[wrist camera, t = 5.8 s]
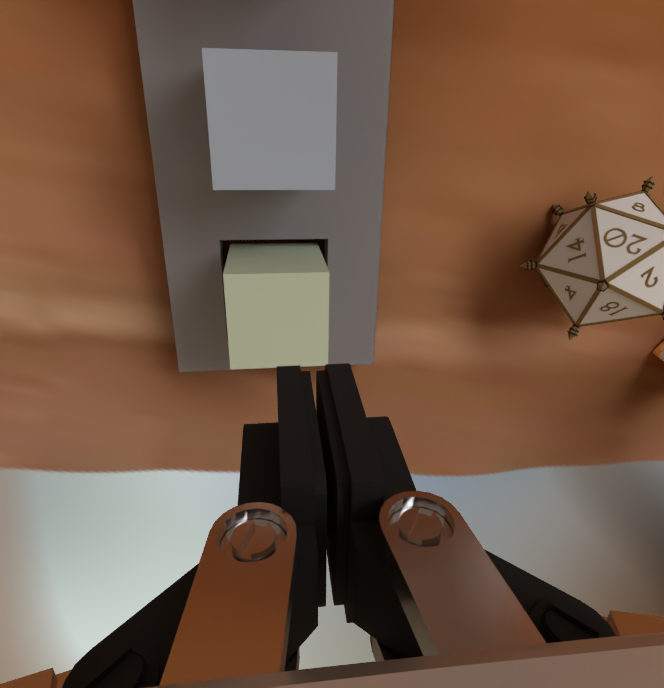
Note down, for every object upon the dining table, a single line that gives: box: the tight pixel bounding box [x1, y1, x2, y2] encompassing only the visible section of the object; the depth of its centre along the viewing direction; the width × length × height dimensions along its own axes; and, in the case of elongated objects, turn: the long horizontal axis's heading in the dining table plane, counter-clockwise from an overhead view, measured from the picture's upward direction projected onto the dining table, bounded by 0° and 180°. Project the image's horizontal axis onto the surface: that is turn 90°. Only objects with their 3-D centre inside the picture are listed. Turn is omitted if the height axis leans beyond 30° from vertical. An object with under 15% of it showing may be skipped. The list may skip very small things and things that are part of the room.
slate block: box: [202, 48, 338, 190], centre depth 22 cm, size 5×5×6 cm
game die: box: [520, 177, 664, 340], centre depth 29 cm, size 9×8×10 cm
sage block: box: [223, 243, 329, 370], centre depth 28 cm, size 5×5×6 cm
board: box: [132, 0, 394, 372], centre depth 26 cm, size 28×12×2 cm, turn 179°
